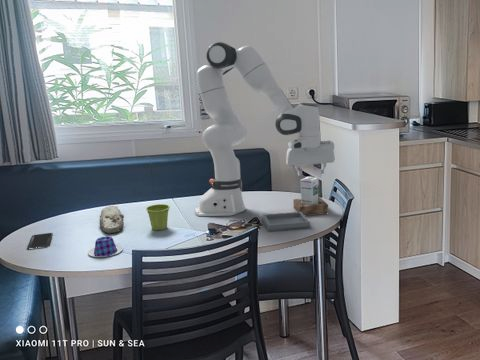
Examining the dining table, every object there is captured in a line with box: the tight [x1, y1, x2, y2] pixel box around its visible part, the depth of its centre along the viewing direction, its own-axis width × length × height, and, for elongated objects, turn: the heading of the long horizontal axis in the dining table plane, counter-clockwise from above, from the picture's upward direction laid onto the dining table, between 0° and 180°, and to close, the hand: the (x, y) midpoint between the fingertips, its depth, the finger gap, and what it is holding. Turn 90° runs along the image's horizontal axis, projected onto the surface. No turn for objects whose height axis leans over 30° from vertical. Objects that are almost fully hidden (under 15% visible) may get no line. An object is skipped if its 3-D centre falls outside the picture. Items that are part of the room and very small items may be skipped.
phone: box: [26, 232, 54, 249], centre depth 187 cm, size 8×1×15 cm
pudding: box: [88, 235, 124, 258], centre depth 173 cm, size 12×12×5 cm
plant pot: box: [145, 203, 171, 231], centre depth 195 cm, size 9×9×9 cm
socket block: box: [293, 196, 329, 216], centre depth 209 cm, size 12×12×4 cm
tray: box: [262, 211, 311, 232], centre depth 193 cm, size 16×14×2 cm
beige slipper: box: [99, 205, 125, 234], centre depth 207 cm, size 35×5×10 cm
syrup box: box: [300, 176, 320, 205], centre depth 208 cm, size 6×6×14 cm
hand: (310, 174), depth 206 cm, fingers open, 8 cm apart
